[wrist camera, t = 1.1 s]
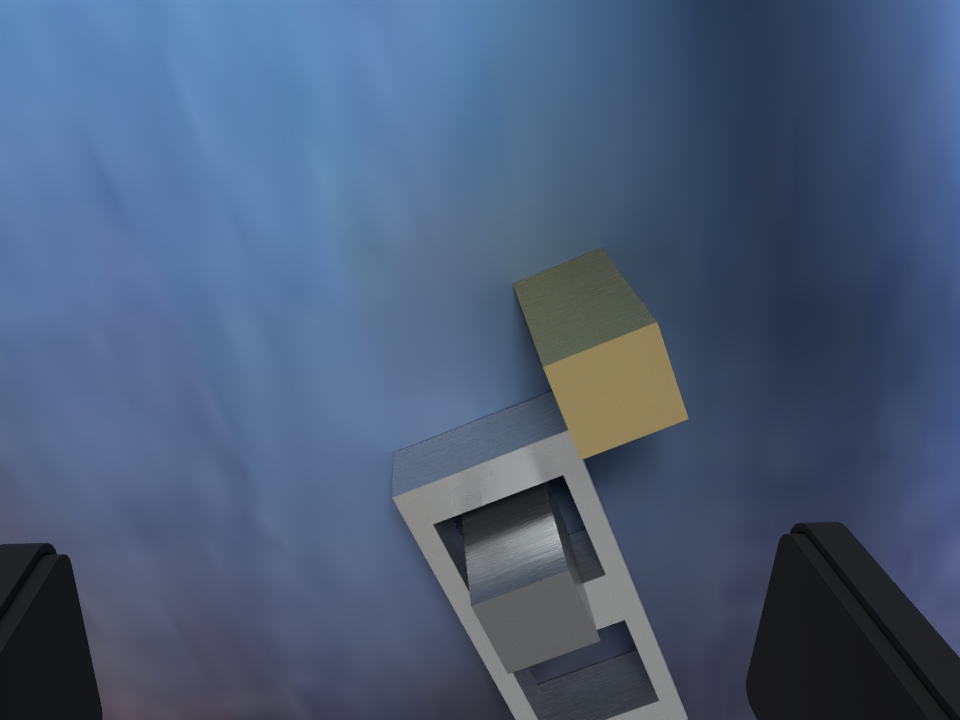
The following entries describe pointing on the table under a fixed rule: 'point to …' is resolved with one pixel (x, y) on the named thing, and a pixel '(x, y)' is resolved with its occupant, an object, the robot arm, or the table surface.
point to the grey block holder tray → (608, 583)
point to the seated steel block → (526, 579)
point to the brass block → (600, 353)
